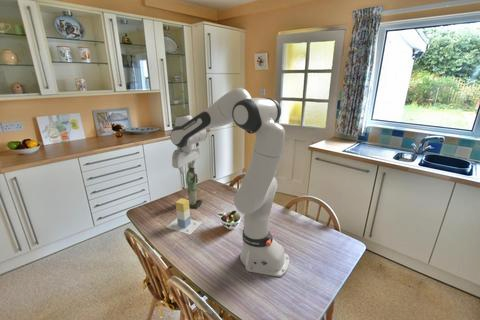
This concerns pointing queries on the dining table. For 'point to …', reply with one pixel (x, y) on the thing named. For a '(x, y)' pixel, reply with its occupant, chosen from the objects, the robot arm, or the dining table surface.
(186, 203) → the block
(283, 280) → the dining table surface
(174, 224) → the build plate
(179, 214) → the block
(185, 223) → the block
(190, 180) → the figurine
